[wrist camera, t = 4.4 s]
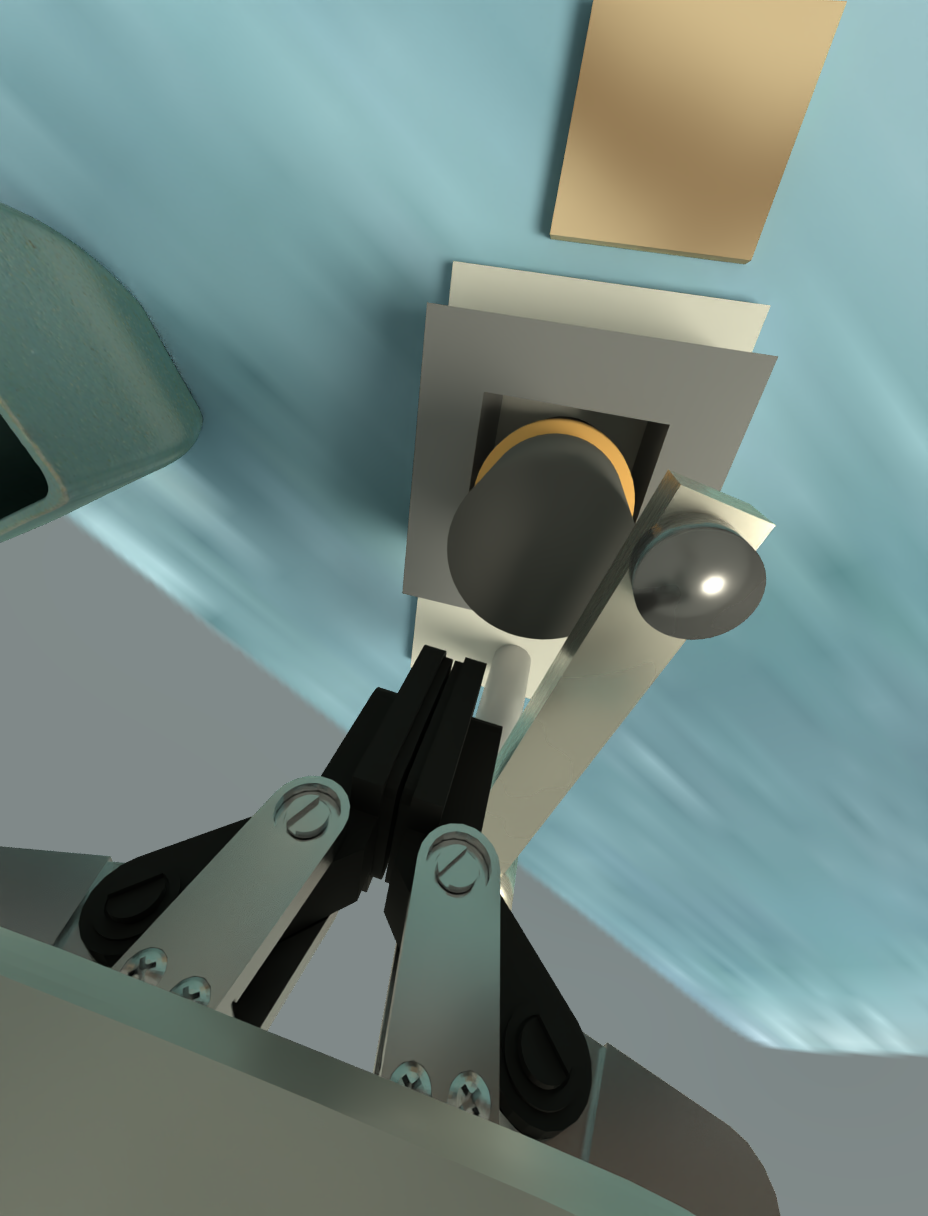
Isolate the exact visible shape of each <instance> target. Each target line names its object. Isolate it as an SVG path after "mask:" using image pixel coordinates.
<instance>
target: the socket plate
mask: <svg viewBox="0 0 928 1216" xmlns="http://www.w3.org/2000/svg"><path fill="white" fill-rule="evenodd" d="M769 308H770V306H769V305H762V304H755V303H748V302H741V301H734V300H727V299H719V298H712V297H705V296H698V295H691V294H684V293H677V292H670V291H663V290H655V289H648V288H641V287H634V286H627V285H620V284H613V283H606V282H599V281H591V280H584V279H577V278H570V277H563V276H556V275H549V274H542V273H534V272H527V271H520V270H513V269H506V268H499V267H492V266H485V265H478V264H470V263H463V262H456V261H453V267H452V277H451V287H450V296H449V306H447V305H440V304H434V303H427V309H426V321H425V333H424V345H423V357H422V368H421V380H420V392H419V404H418V415H417V427H416V439H415V451H414V463H413V474H412V486H411V498H410V510H409V522H408V533H407V545H406V557H405V569H404V580H403V592H402V593H403V594H407V595H411V596H416V597H418V601H417V610H416V620H415V629H414V639H413V649H412V658H411V667H412V666H413V664H414V663H415V661H416V659H417V657H418V655H419V654H420V652H421V650H422V648H423V646H424V645H429V646H432V647H435V648H439V649H442V650H445V651H447V654H446V657H448V658H451V659H453V664H452V667H453V665H454V662H455V660H456V661H460V662H464V660H465V658H466V657H467V658H471V659H474V660H477V661H481V662H484V663H487V666H486V670H485V673H484V677H483V680H482V684H481V686H483V687H484V690H483V694H482V697H481V700H480V703H479V707H478V710H477V713H476V717H475V718H477V719H480V720H484V721H487V722H490V723H493V724H497V725H500V726H503V730H502V735H501V740H500V745H499V750H498V753H499V751H500V750H501V748H502V746H503V745H504V743H505V741H506V740H507V738H508V736H509V735H510V733H511V731H512V730H513V728H514V726H515V725H516V723H517V721H518V720H519V718H520V716H521V715H522V712H523V706H524V700H525V698H529V699H531V698H532V696H533V695H534V693H535V691H536V690H537V688H538V686H539V685H540V683H541V681H542V679H543V678H544V676H545V674H546V673H547V671H548V669H549V668H550V666H551V664H552V663H553V661H554V659H555V658H556V656H557V654H558V653H559V651H560V649H561V648H562V646H563V644H564V643H565V641H566V639H567V638H568V637H565V638H558V639H545V640H540V639H529V638H524V637H519V636H515V635H512V634H509V633H506V632H504V631H502V630H500V629H497V628H496V627H494V626H492V625H490V624H489V623H487V622H486V621H485V620H483V619H482V618H480V617H479V616H478V615H477V614H476V613H475V612H474V611H473V610H472V609H471V608H470V607H469V606H468V605H467V603H466V602H465V601H464V600H463V598H462V597H461V595H460V594H459V592H458V590H457V588H456V586H455V584H454V582H453V579H452V576H451V573H450V570H449V565H448V559H447V539H448V534H449V529H450V525H451V522H452V520H453V517H454V515H455V513H456V511H457V509H458V507H459V505H460V504H461V502H462V501H463V499H464V498H465V497H466V495H467V494H468V493H469V492H470V491H471V490H472V489H473V487H474V486H475V482H476V479H477V476H478V473H479V471H480V469H481V467H482V465H483V463H484V461H485V460H486V458H487V457H488V456H489V454H490V453H491V452H492V451H493V449H494V448H495V447H496V446H497V445H498V444H499V443H500V442H501V441H502V440H504V439H505V438H506V437H507V436H508V435H510V434H511V433H513V432H514V431H516V430H517V429H519V428H521V427H523V426H525V425H527V424H530V423H533V422H536V421H539V420H544V419H547V418H551V417H557V416H567V417H574V418H578V419H580V420H583V421H585V422H587V423H589V424H590V425H592V426H593V427H594V428H596V429H597V430H599V431H601V432H602V433H603V434H604V435H606V436H607V437H608V438H609V439H610V440H611V441H612V442H613V443H614V444H615V445H616V446H617V448H618V449H619V451H620V452H621V454H622V455H623V457H624V459H625V461H626V464H627V466H628V468H629V470H630V473H631V476H632V480H633V485H634V491H635V504H634V512H633V516H632V517H633V520H634V523H635V524H636V522H637V520H638V519H639V517H640V515H641V514H642V512H643V510H644V509H645V507H646V505H647V504H648V502H649V500H650V499H651V497H652V495H653V494H654V492H655V490H656V489H657V487H658V485H659V484H660V482H661V480H662V479H663V477H664V475H665V474H666V472H667V470H668V469H669V470H671V471H673V472H676V473H678V474H680V475H683V476H685V477H687V478H690V479H692V480H694V481H697V482H699V483H701V484H704V485H706V486H708V487H711V488H713V489H715V490H718V491H721V488H722V486H723V484H724V481H725V479H726V477H727V474H728V472H729V470H730V467H731V465H732V463H733V460H734V458H735V456H736V453H737V451H738V449H739V446H740V444H741V442H742V439H743V437H744V435H745V432H746V430H747V428H748V426H749V423H750V421H751V419H752V416H753V414H754V412H755V409H756V407H757V405H758V402H759V400H760V398H761V395H762V393H763V391H764V388H765V386H766V384H767V381H768V379H769V377H770V374H771V372H772V370H773V367H774V365H775V363H776V360H777V358H778V356H771V355H765V354H758V353H752V350H753V348H754V345H755V343H756V341H757V338H758V336H759V333H760V331H761V328H762V326H763V323H764V321H765V318H766V316H767V313H768V311H769ZM451 670H452V668H451Z"/></svg>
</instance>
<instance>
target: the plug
mask: <svg viewBox="0 0 928 1216" xmlns="http://www.w3.org/2000/svg"><path fill="white" fill-rule="evenodd" d="M634 504H635V491H634V485H633V480H632V476H631V473H630V470H629V468H628V466H627V464H626V461H625V459H624V457H623V455H622V454H621V452H620V451H619V449H618V448H617V446H616V445H615V444H614V443H613V442H612V441H611V440H610V439H609V438H608V437H607V436H606V435H604V434H603V433H602V432H601V431H599V430H597V429H596V428H594V427H593V426H592V425H590V424H589V423H587V422H585V421H583V420H580V419H578V418H574V417H567V416H557V417H551V418H547V419H544V420H539V421H536V422H533V423H530V424H527V425H525V426H523V427H521V428H519V429H517V430H516V431H514V432H513V433H511V434H510V435H508V436H507V437H506V438H505V439H504V440H502V441H501V442H500V443H499V444H498V445H497V446H496V447H495V448H494V449H493V451H492V452H491V453H490V454H489V456H488V457H487V458H486V460H485V461H484V463H483V465H482V467H481V469H480V471H479V473H478V476H477V479H476V482H475V486H474V487H473V489H472V490H471V491H470V492H469V493H468V494H467V495H466V497H465V498H464V499H463V501H462V502H461V504H460V505H459V507H458V509H457V511H456V513H455V515H454V517H453V520H452V522H451V525H450V529H449V534H448V539H447V559H448V565H449V570H450V573H451V576H452V579H453V582H454V584H455V586H456V588H457V590H458V592H459V594H460V595H461V597H462V598H463V600H464V601H465V602H466V603H467V605H468V606H469V607H470V608H471V609H472V610H473V611H474V612H475V613H476V614H477V615H478V616H479V617H480V618H482V619H483V620H485V621H486V622H487V623H489V624H490V625H492V626H494V627H496V628H497V629H500V630H502V631H504V632H506V633H509V634H512V635H515V636H519V637H524V638H529V639H540V640H545V639H558V638H565V637H568V636H569V634H570V633H571V631H572V629H573V628H574V626H575V624H576V623H577V621H578V619H579V618H580V616H581V614H582V613H583V611H584V609H585V608H586V606H587V604H588V603H589V601H590V599H591V597H592V596H593V594H594V592H595V591H596V589H597V587H598V586H599V584H600V582H601V581H602V579H603V577H604V576H605V574H606V572H607V571H608V569H609V567H610V566H611V564H612V562H613V561H614V559H615V557H616V556H617V554H618V552H619V551H620V549H621V547H622V546H623V544H624V542H625V541H626V539H627V537H628V536H629V534H630V532H631V531H632V529H633V527H634V526H635V523H634V520H633V517H632V516H633V512H634Z"/></svg>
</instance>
